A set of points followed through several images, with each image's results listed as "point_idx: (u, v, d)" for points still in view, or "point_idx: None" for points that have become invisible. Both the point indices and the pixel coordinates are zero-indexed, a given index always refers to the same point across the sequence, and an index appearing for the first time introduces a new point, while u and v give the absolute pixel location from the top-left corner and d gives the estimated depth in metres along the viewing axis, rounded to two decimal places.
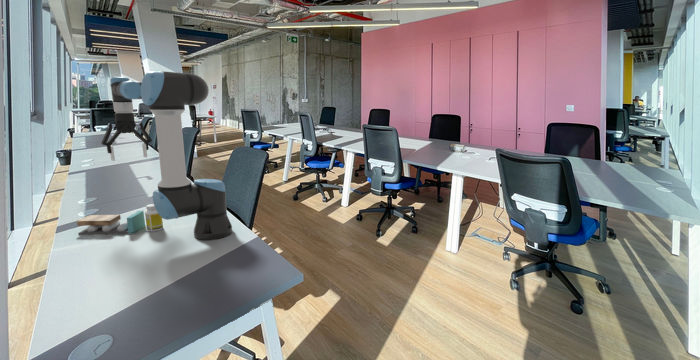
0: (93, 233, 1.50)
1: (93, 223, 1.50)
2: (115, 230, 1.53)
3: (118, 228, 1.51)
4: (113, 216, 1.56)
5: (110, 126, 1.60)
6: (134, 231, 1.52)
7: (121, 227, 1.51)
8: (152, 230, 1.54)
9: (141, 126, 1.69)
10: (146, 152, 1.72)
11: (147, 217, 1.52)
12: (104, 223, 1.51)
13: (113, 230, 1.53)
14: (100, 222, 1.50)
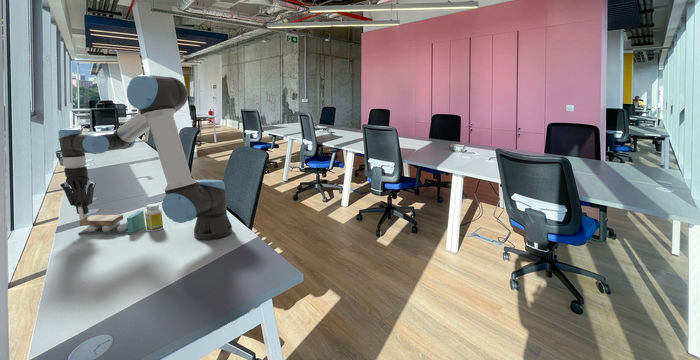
0: (93, 233, 1.50)
1: (96, 223, 1.50)
2: (115, 230, 1.53)
3: (118, 228, 1.51)
4: (115, 216, 1.56)
5: (62, 186, 1.49)
6: (134, 231, 1.52)
7: (121, 227, 1.51)
8: (152, 230, 1.54)
9: (89, 186, 1.50)
10: (82, 216, 1.52)
11: (147, 217, 1.52)
12: (106, 223, 1.51)
13: (113, 230, 1.53)
14: (103, 222, 1.50)
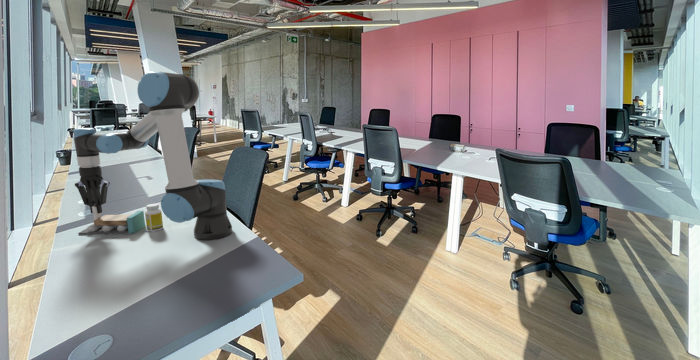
0: (93, 233, 1.50)
1: (110, 223, 1.51)
2: (115, 230, 1.53)
3: (118, 228, 1.51)
4: (128, 216, 1.56)
5: (76, 185, 1.49)
6: (134, 231, 1.52)
7: (121, 227, 1.51)
8: (152, 230, 1.54)
9: (103, 186, 1.50)
10: (96, 216, 1.52)
11: (147, 217, 1.52)
12: (120, 223, 1.51)
13: (113, 230, 1.53)
14: (117, 222, 1.51)
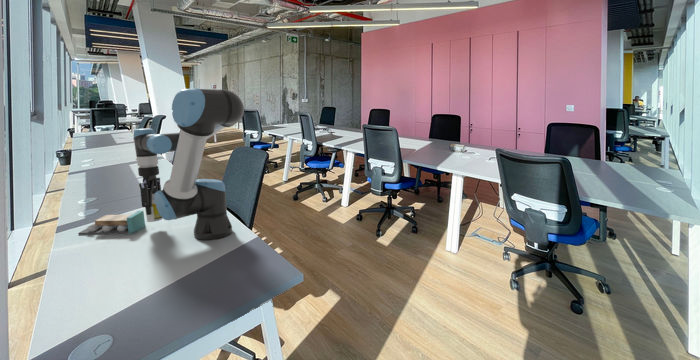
0: (93, 233, 1.50)
1: (111, 223, 1.51)
2: (115, 230, 1.53)
3: (118, 228, 1.51)
4: None
5: (146, 185, 1.46)
6: (134, 231, 1.52)
7: (121, 227, 1.51)
8: None
9: (159, 181, 1.58)
10: None
11: None
12: (121, 223, 1.51)
13: (113, 230, 1.53)
14: (118, 222, 1.51)
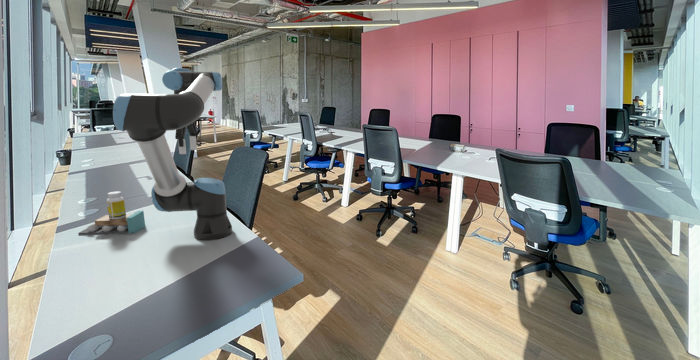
0: (93, 233, 1.50)
1: (111, 223, 1.51)
2: (115, 230, 1.53)
3: (118, 228, 1.51)
4: None
5: None
6: (134, 231, 1.52)
7: (121, 227, 1.51)
8: (114, 218, 1.51)
9: None
10: (196, 144, 1.72)
11: (108, 205, 1.50)
12: (121, 223, 1.51)
13: (113, 230, 1.53)
14: (118, 222, 1.51)
